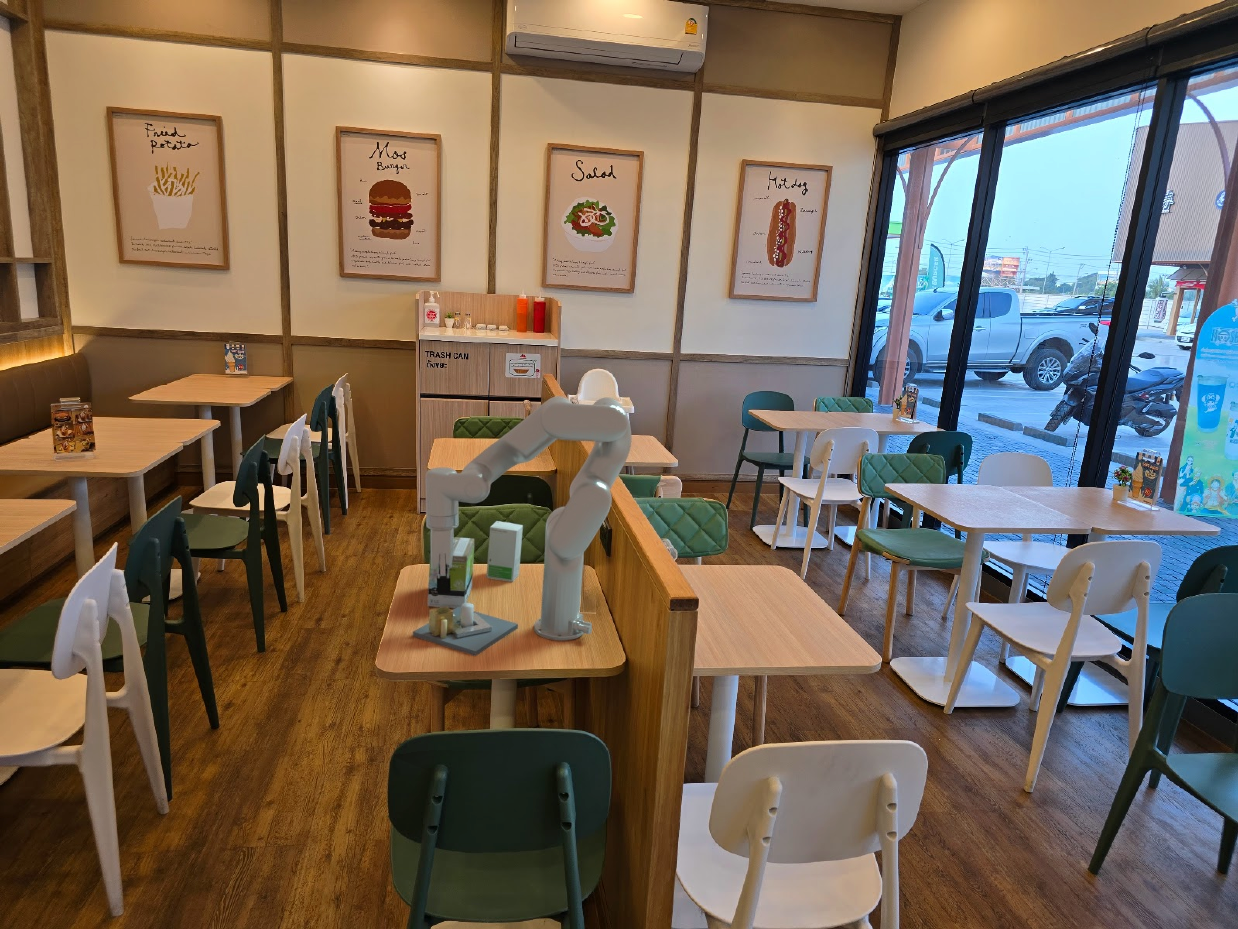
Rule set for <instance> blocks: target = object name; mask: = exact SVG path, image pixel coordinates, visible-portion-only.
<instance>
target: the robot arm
mask: <svg viewBox="0 0 1238 929" xmlns="http://www.w3.org/2000/svg"><path fill="white" fill-rule="evenodd" d="M557 440H563V441H572V442H573V441H574V442H575V441H576V442H594V445H593V447H592V449H591V451H590V453H589V454H588V456H587V458H586V460H585V461H584V463H583V465H582V466H581V467H580V470H578V473H577V474H576V475H575V477H574V479H573V480H572V481H571V484H570V485H569V486H570V487H569V490H568V491H569V499H568V501H567V503H566V504H565V506H559V507H558V508H556V509H554V510H553V511H551V513H550V514H549V516H548V518H547V519H546V523H545V531H544V532H545V538H544V540H545V541H544V542H545V543H544V560H543V561H544V562H543V563H544V565H543V577H542V578H543V579H542V593H541V594H542V595H541V609H540V610H541V611H540V613H541V614H540V618H539V619H537V620H536V621H535V622H534V624H533V630H534V632H535V634H537V635H538V636H539V637H541V638H543V639H544V638H545V639H547V640H552V641H571V640H576V639H578V638H580V637H581V636H583V635H584V634H588V635H591V634H592V631H593V623H592V622H589V621H585V620H584V614H583V613H581V596H582V586H583V584H582V582H583V571H584V556H585V555H584V553H585V552H586V550H587V549H588V547H589V546H590V544H591V543H592V541H593V539H594V538H595V536H596V535H597V533H598V532H599V529H600V528H601V526H602V525H603V523H604V522H605V520H606V518H607V517H608V514H609V512H610V509H611V507H612V501H613V498H612V492H611V489H612V487H613V485H614V483H615V482H616V480H617V478H618V477H619V475H620V473H621V471H622V469H623V467H624V465H625V463H626V461H627V460H628V457H629V454H630V451H631V446H632V428H631V423H630V420H629V416H628V414H627V412H626V411H625V408H624V406H623V405H622V404H621V403H620V402H619V401H618V400H616V399H614V398H613V397H601V398H599V399H597V400H596V401H594V403H593V404H585V403H584V404H583V403H581V404H580V403H573V402H572V401H570V399H568V398H567V397H564V396H560V395H559V396H558V395H556V396H553V397H551V398H549V399H548V400H546V401H545V402H543V403H542V404H541V405H539V406H538V408H536V409H535V410H534V411H532V412H531V413H530V414H529V415H527V417H526V418H524V419H523V420H521V422H519V423H517V425H516V426H514V427H513V428H512V429H511V430H509V431H508V432H507V433H505V434H504V435H503V436H501V437H500V438H499V439H497V440H496V441H494V442H492V444H490V445H489V446H488V447H487V448H485V449H484V450H483V451H482V452H481V453H479V454H478V455H477V456H476V457H475V458H473V459H472V460H470V461H469V463H467V464H466V465H465V466H464V467H463V469H462V470H461V472H457V470H455V469H454V468H451V467H443V466H441V467H434V468H431V469H428V470H427V471H426V472H425V476H424V477H425V478H424V480H425V481H424V483H425V515H426V516H425V518H426V521H425V522H426V523H425V524H426V529H427V528H428V529H429V530H430V553H431V569H432V570H434V569H436V568H437V574H438V576H437V593H450V592H451V581H450V575H449V569H451V568H452V560H453V546H454V530H455V529H457V528H458V527H459V524H460V523H459V502H461V503H469V504H478V503H481V502H484V501H485V499H487V497H488V496H489V495H490V490H491V486H492V483H493V482H495V481H496V480H497V479H499V478H500V477H501V476H502V475H503V474H505V473H506V472H507V471H509V470H510V469H512V468H513V467H515V466H517V465H519V464H524V463H525V464H526V463H528V462H530V461H532V460H533V459H535V458H537V456H538V455H539V454H541V453H542V452H543V451H544V450H545V449H547V448H548V447H549V446H550V445H552V444H553V443H554V442H555V441H557Z"/></svg>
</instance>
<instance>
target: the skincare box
mask: <svg viewBox="0 0 1238 929" xmlns="http://www.w3.org/2000/svg"><path fill="white" fill-rule="evenodd" d="M523 529H524V525H523V524H518V523H512V522H505V521H500V520H499V521H498V520H496V521H495V522H494V523H493V524H492V525H490V527H489V537H488V538H489V539H488V541H489V542H488V549H487V551H488V552H487V562H486V563H487V566H486V578H487V579H492V580H495V581H496V580H497V581H503V582H510V583H513V582H515V580H516V579H517V578H518V577H519V575H520V564H521V552H522V540H523Z"/></svg>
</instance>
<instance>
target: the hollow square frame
mask: <svg viewBox="0 0 1238 929" xmlns="http://www.w3.org/2000/svg"><path fill="white" fill-rule="evenodd" d="M452 610H453V609H452V608H448V607H435V608H431V609H429V616H428V623H429V631H430V632H431V633H432V634H433V635H434V636H438V635H441V620H442V619H446V620H447V633H453V634H454V635H455V636H456V637H457V638H459V637H464V636H468V635H473V634H478V633H483V632H488V631H492V626H490V625H489V624H488V623H487V622H486V621H485V620H483V619H482V618H481V617H480V616H479V615H478V614H476V613H474V614H473V624H474V625H475V626H470V627H465V628H462V627H461V626H460V625H459V624H461V616H457V617H453V611H452Z"/></svg>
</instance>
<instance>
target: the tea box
mask: <svg viewBox="0 0 1238 929" xmlns="http://www.w3.org/2000/svg"><path fill="white" fill-rule="evenodd" d="M474 557H475V538H470V537H469V538H468V537H456V536H455V537H454V546H453V560H452V568H451V569H449V575H450V581H451V592H450V593H437V576H438V574H437V568H436V569H434V570H432V569H431V552H430V554H429V565H428V585H427V586H428V587H427V588H428V590H427V607H430V608H432V607H433V608H434V607H435V608H441V607H448V608H450V609H455V608H457V607H461V605H462V604H464V603H468V602H467V601H468V598H469V596H470V593H471V590H472V589H473V576H474V560H475V559H474Z"/></svg>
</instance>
